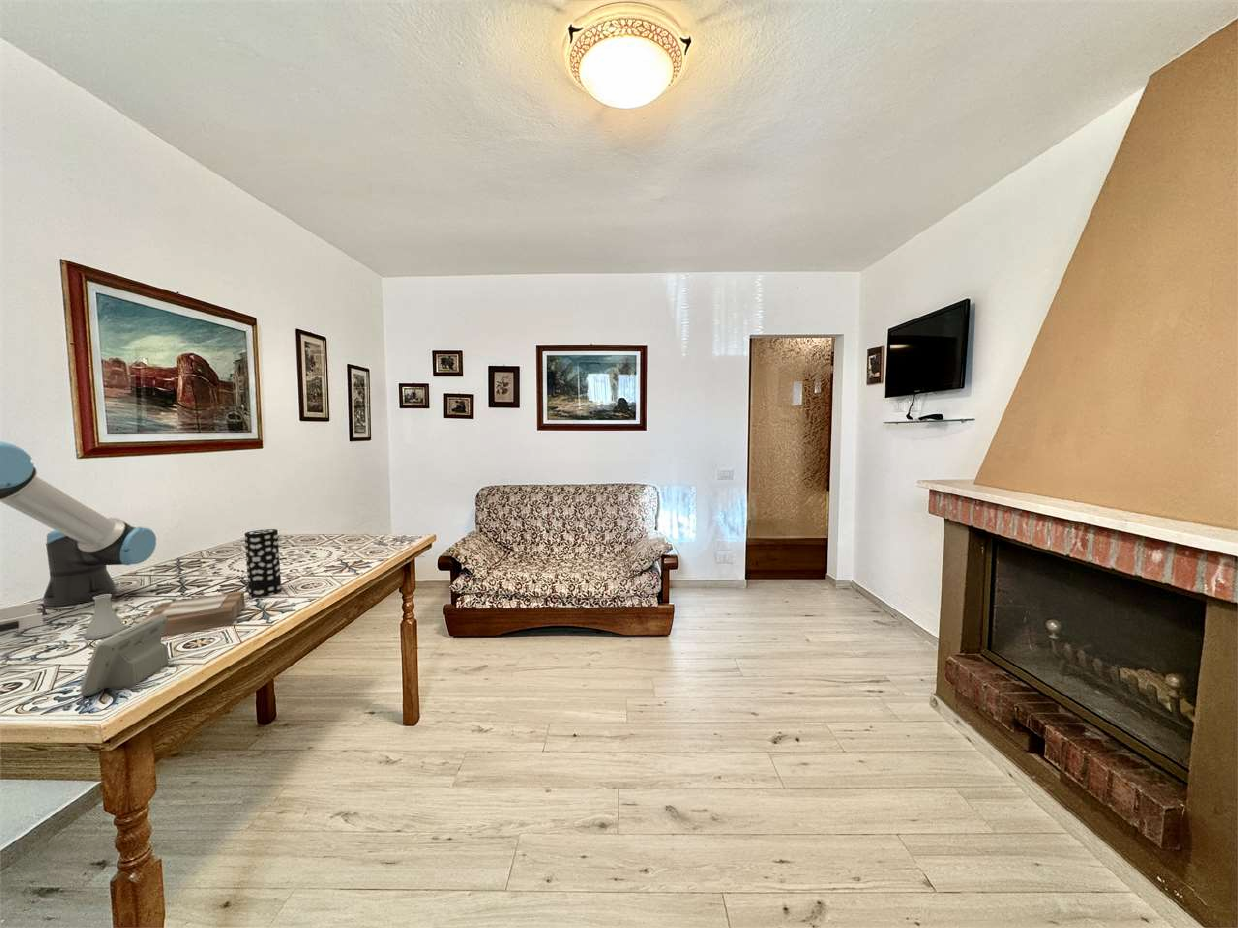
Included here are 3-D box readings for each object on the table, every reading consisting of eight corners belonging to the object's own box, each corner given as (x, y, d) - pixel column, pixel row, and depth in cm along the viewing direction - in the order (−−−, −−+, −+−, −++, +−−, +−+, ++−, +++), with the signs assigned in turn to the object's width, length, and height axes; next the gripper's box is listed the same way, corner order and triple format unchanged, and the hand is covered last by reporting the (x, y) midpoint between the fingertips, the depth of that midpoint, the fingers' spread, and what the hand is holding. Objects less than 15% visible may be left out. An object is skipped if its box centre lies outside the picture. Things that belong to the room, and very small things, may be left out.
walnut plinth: (162, 617, 129) (161, 601, 129) (244, 604, 138) (243, 589, 138) (138, 641, 113) (136, 623, 113) (232, 624, 123) (230, 608, 122)
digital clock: (149, 658, 104) (146, 612, 104) (189, 657, 104) (185, 612, 104) (62, 699, 88) (57, 645, 88) (109, 698, 88) (104, 644, 87)
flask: (97, 641, 114) (94, 601, 113) (76, 639, 115) (72, 600, 115) (133, 629, 121) (130, 591, 120) (113, 627, 122) (109, 590, 122)
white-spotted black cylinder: (274, 587, 154) (270, 528, 152) (286, 591, 149) (282, 530, 148) (244, 594, 146) (239, 533, 145) (255, 599, 142) (251, 535, 141)
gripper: (-122, 649, 99) (36, 617, 117) (-137, 682, 85) (46, 640, 102) (-126, 615, 99) (33, 588, 116) (-141, 642, 85) (43, 607, 102)
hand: (40, 612), depth 109 cm, fingers open, 13 cm apart
